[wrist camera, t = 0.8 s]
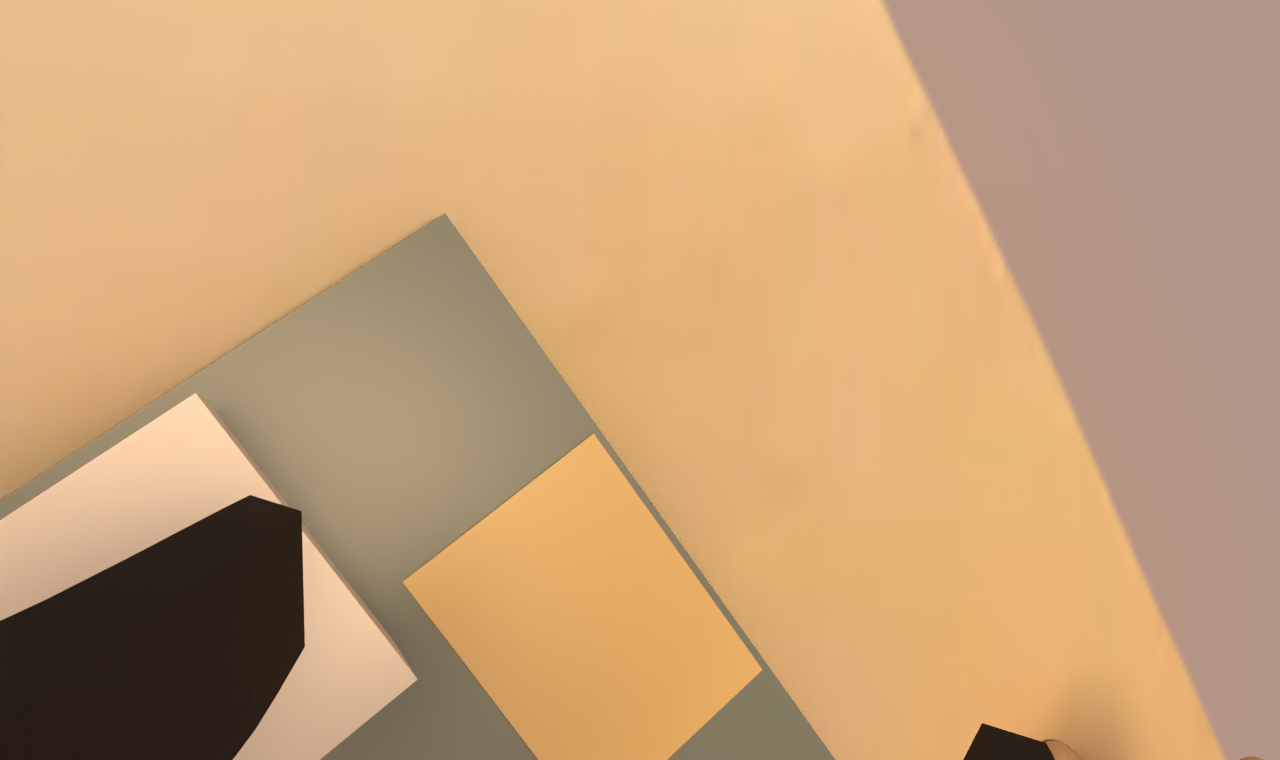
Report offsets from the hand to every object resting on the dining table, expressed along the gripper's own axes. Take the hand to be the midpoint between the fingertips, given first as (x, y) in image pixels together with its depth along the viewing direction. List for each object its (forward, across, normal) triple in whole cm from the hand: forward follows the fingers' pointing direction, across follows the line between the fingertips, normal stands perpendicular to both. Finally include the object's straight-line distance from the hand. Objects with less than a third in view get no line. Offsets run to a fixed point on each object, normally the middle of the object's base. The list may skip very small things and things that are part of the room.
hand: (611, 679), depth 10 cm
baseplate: (+8, +4, +11) cm, 14 cm away
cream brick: (+6, +10, +8) cm, 14 cm away
